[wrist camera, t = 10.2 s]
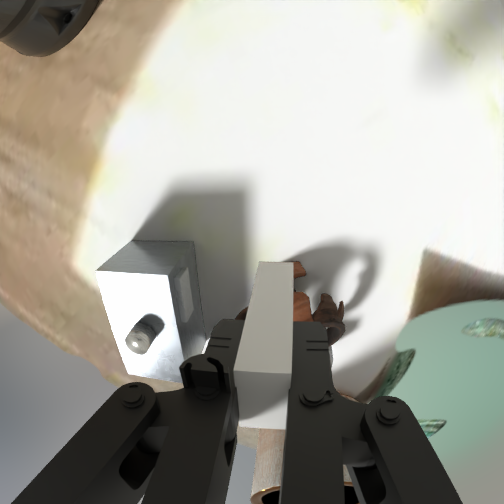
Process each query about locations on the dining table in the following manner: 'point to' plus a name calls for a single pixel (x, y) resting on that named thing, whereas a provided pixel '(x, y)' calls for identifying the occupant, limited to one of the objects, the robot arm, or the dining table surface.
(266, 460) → the planter
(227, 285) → the dining table surface
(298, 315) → the brown curved piece
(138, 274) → the motor bracket
